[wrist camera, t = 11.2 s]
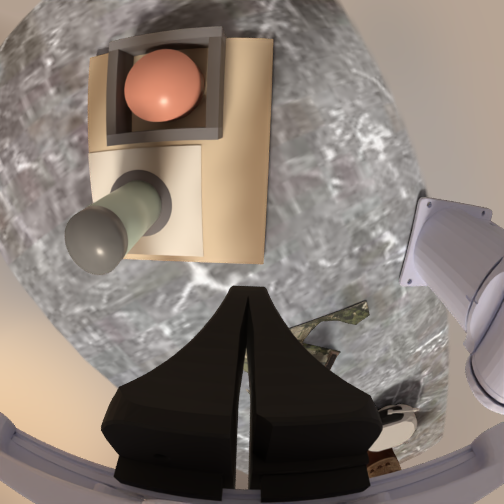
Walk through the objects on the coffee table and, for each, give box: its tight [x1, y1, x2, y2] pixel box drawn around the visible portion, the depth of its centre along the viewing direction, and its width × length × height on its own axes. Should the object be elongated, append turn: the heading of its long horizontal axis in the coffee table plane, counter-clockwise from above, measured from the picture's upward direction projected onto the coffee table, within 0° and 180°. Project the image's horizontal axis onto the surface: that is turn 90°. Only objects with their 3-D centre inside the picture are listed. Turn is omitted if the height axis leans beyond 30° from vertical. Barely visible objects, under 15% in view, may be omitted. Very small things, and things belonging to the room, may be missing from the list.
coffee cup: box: [366, 448, 401, 478], centre depth 33 cm, size 9×8×13 cm
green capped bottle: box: [65, 180, 162, 275], centre depth 16 cm, size 4×4×7 cm
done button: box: [124, 49, 204, 122], centre depth 14 cm, size 5×5×2 cm
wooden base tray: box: [88, 26, 273, 264], centre depth 17 cm, size 13×16×3 cm
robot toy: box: [369, 404, 419, 451], centre depth 32 cm, size 12×4×15 cm
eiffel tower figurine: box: [243, 301, 369, 394], centre depth 21 cm, size 15×10×13 cm
